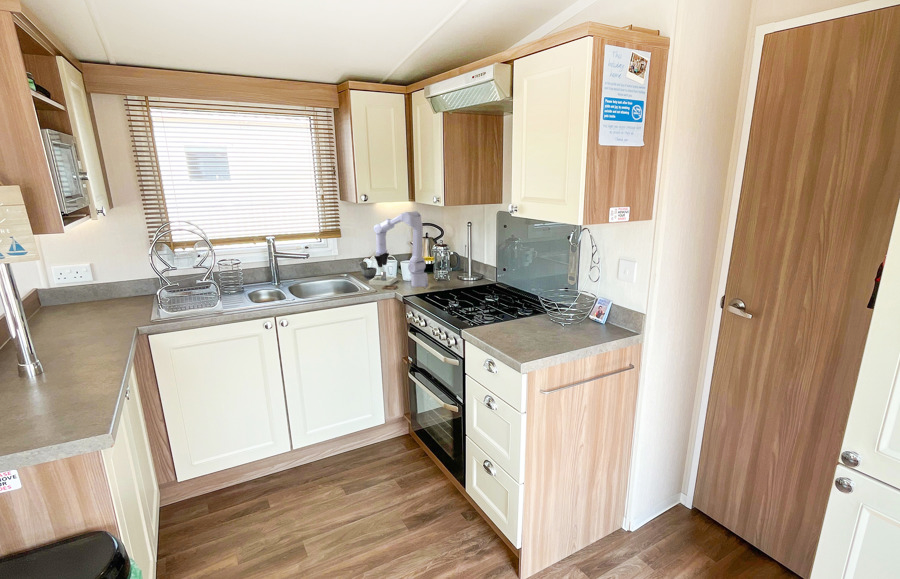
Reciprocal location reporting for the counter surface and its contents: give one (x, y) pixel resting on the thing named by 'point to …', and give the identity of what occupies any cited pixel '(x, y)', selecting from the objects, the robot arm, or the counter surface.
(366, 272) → the mortar and pestle
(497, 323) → the counter surface
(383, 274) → the strut
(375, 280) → the bin
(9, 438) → the counter surface
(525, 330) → the counter surface
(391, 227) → the robot arm
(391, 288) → the stud block
